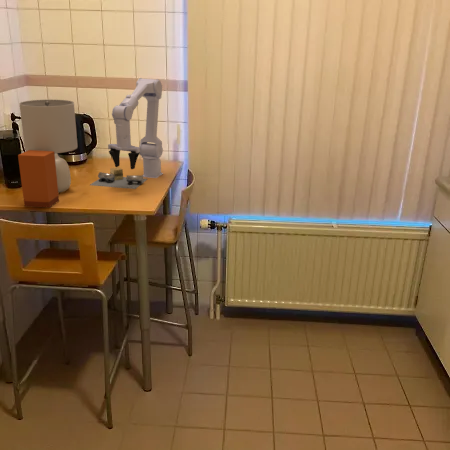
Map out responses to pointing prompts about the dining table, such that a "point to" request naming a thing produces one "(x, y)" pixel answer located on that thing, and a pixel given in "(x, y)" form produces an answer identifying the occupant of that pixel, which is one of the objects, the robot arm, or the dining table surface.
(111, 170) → the tan rectangular block
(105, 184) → the mat
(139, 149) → the robot arm
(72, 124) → the lamp
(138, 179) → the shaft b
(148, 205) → the dining table surface
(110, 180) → the shaft
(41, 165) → the tall terracotta brick
